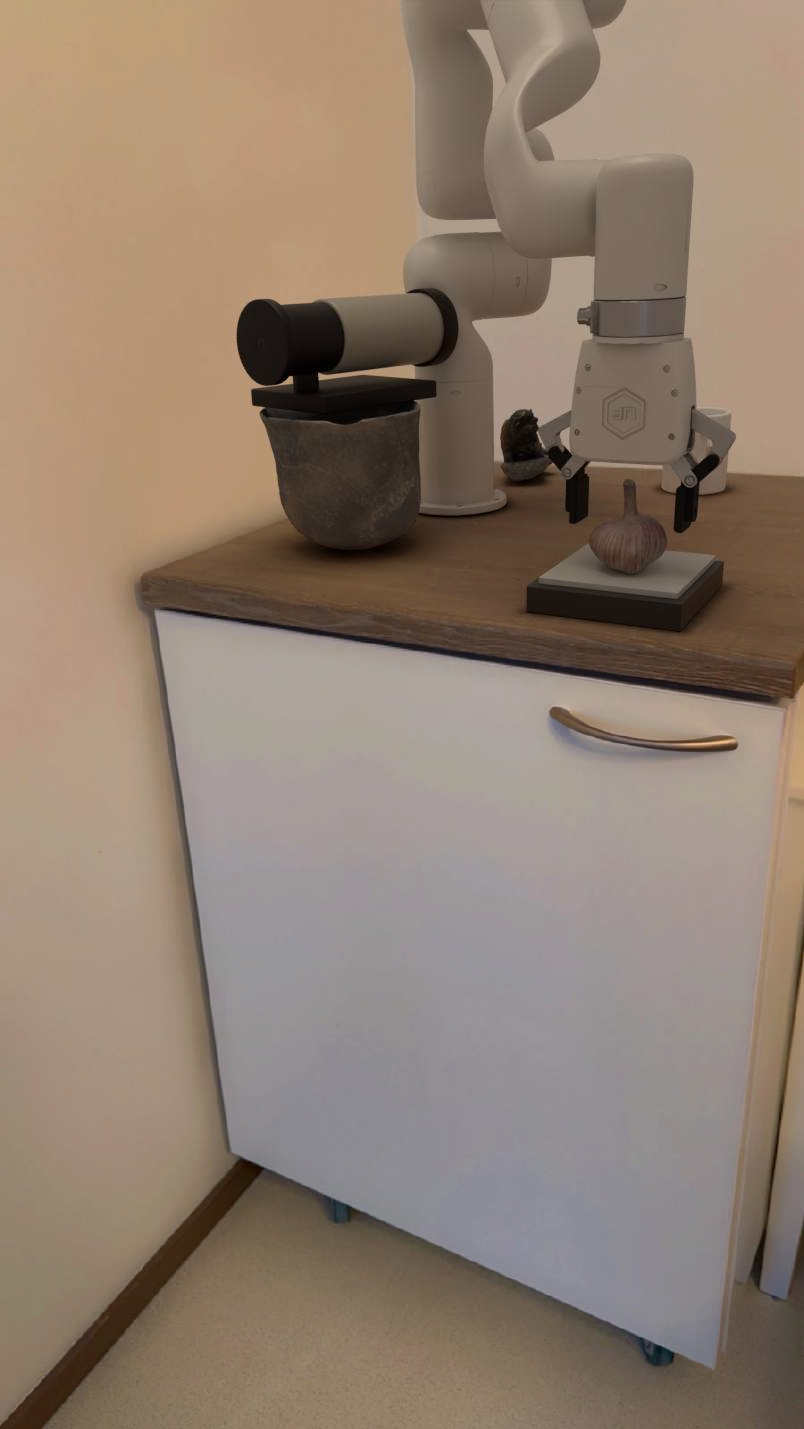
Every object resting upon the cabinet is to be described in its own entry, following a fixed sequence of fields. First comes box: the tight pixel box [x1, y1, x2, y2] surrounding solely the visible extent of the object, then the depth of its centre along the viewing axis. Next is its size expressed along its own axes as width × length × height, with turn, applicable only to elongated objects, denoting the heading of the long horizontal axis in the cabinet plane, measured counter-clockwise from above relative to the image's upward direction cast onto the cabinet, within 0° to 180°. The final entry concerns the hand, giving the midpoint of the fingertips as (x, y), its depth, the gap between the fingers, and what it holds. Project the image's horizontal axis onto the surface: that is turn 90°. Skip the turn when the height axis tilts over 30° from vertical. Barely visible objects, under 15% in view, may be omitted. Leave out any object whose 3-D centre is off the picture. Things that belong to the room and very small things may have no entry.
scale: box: [525, 543, 725, 632], centre depth 98 cm, size 14×14×3 cm
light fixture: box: [235, 288, 459, 414], centre depth 115 cm, size 12×11×25 cm
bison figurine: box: [499, 408, 554, 482], centre depth 148 cm, size 12×7×10 cm, turn 168°
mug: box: [660, 406, 733, 496], centre depth 136 cm, size 8×12×10 cm, turn 179°
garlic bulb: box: [589, 478, 668, 574], centre depth 96 cm, size 8×7×8 cm
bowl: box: [259, 400, 421, 551], centre depth 117 cm, size 18×18×15 cm
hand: (629, 524), depth 96 cm, fingers open, 9 cm apart
